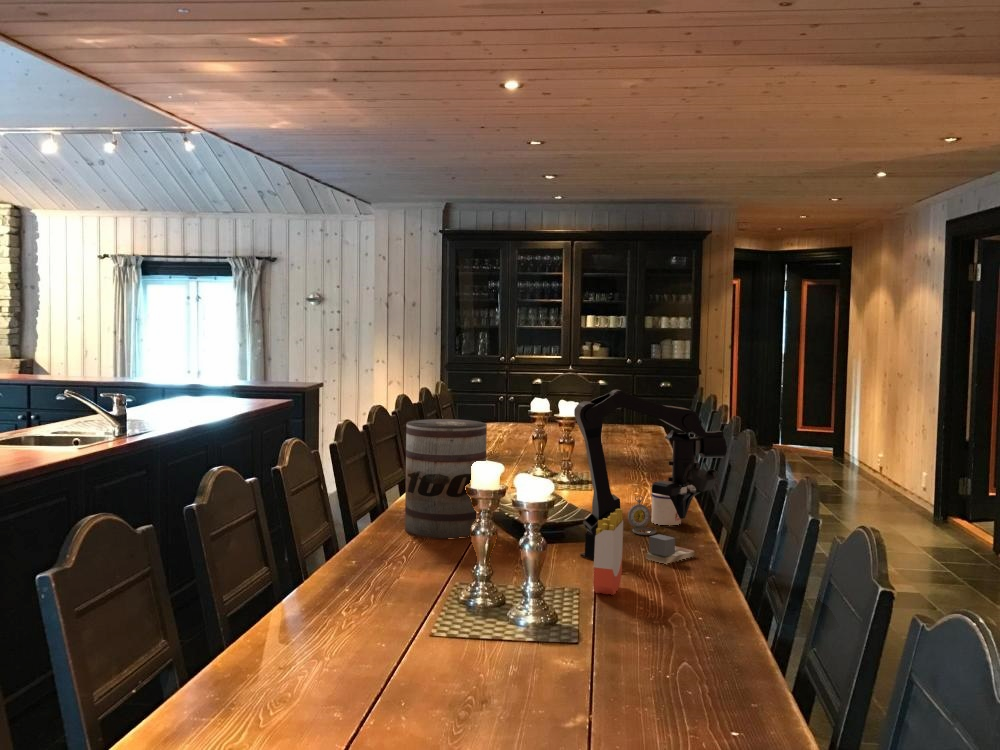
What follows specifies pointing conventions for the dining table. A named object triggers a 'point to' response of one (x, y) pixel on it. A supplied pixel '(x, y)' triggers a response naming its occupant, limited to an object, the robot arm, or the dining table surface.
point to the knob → (661, 545)
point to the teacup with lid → (664, 510)
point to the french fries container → (608, 553)
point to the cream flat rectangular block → (671, 556)
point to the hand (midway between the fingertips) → (682, 518)
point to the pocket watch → (637, 514)
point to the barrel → (441, 476)
